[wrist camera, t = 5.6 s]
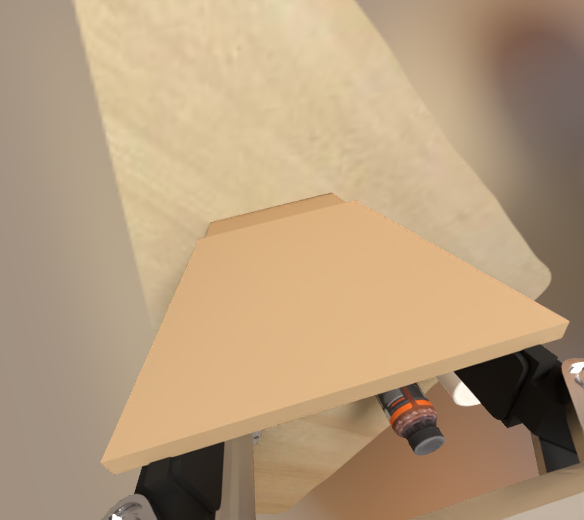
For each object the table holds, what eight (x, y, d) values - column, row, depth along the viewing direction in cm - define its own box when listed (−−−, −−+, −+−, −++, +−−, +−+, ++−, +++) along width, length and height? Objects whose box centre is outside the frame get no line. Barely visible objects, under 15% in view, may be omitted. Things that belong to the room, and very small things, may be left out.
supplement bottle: (357, 378, 39) (397, 462, 29) (373, 351, 36) (422, 433, 26) (388, 379, 40) (436, 459, 31) (405, 353, 38) (463, 431, 28)
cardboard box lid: (561, 337, 6) (569, 321, 6) (115, 474, 6) (99, 462, 5) (355, 207, 18) (354, 200, 18) (201, 246, 18) (198, 238, 17)
